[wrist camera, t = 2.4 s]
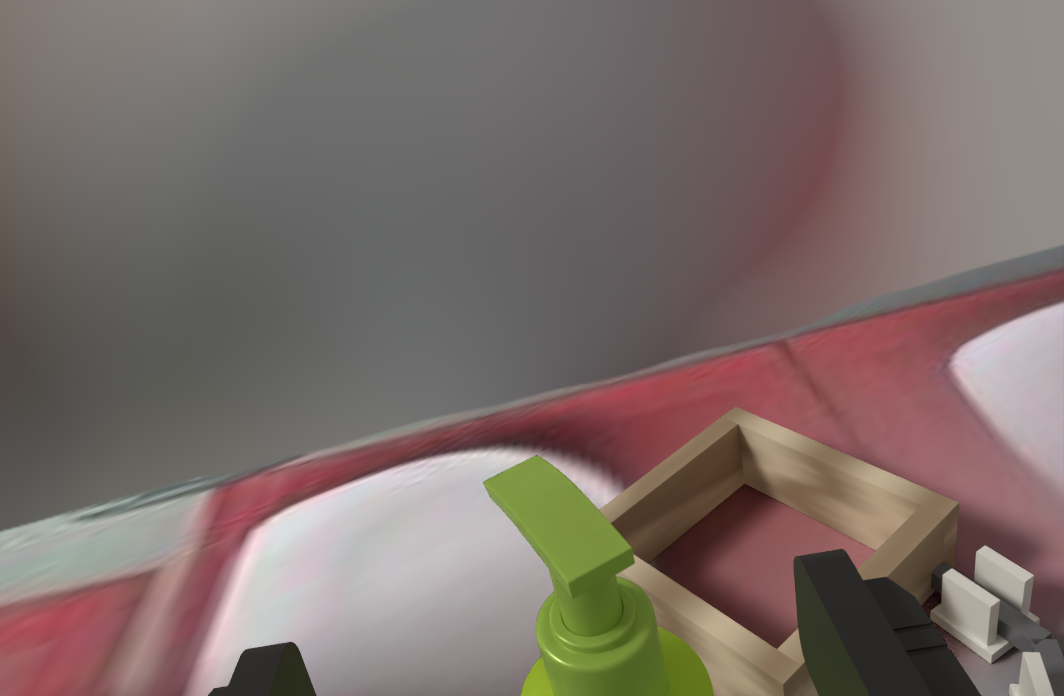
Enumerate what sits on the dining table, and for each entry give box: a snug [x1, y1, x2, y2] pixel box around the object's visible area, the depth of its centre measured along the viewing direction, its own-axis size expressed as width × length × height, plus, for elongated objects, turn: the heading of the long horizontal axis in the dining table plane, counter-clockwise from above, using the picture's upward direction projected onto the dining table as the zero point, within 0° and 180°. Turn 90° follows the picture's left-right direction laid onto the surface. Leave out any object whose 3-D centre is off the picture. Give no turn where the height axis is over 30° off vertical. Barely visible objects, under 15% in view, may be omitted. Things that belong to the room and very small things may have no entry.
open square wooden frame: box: [599, 407, 959, 696], centre depth 43 cm, size 13×13×4 cm
